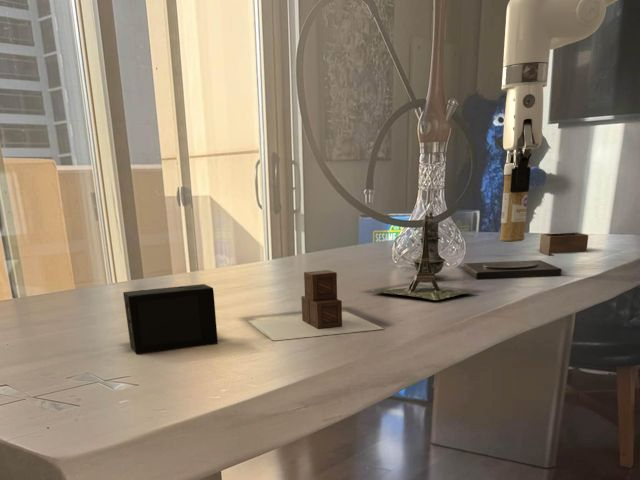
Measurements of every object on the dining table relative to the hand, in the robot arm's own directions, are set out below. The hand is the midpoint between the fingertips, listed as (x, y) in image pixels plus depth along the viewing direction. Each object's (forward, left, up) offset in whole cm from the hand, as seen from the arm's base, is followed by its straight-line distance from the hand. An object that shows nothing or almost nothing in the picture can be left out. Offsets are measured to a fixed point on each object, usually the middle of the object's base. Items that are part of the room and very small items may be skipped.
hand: (515, 190), depth 127 cm
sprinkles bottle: (0, 0, -9) cm, 9 cm away
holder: (-18, -30, -14) cm, 38 cm away
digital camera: (+53, +56, -15) cm, 79 cm away
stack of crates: (+36, +46, -15) cm, 60 cm away
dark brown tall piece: (+16, +6, -15) cm, 23 cm away
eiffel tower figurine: (+19, +23, -15) cm, 33 cm away
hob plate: (0, 0, -15) cm, 15 cm away
